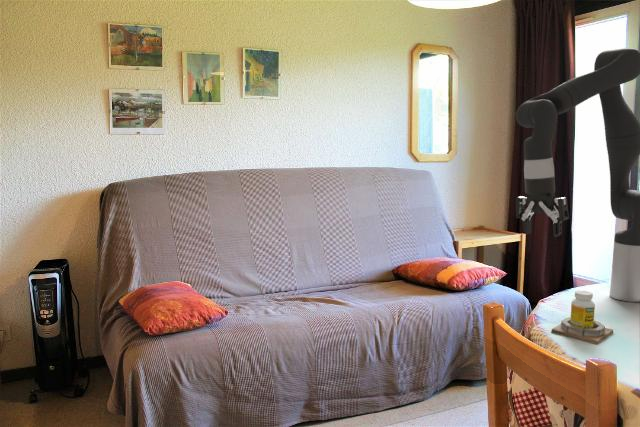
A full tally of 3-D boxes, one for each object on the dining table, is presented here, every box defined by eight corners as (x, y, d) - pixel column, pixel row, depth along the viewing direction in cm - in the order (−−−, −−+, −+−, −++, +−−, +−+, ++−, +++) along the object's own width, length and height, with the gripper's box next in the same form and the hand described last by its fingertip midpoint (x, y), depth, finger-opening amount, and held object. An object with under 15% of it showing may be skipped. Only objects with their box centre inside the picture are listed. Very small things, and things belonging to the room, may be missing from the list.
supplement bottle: (577, 324, 142) (579, 288, 140) (597, 330, 137) (600, 293, 136) (565, 328, 139) (567, 291, 137) (585, 334, 134) (588, 296, 133)
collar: (568, 321, 146) (569, 313, 146) (613, 332, 138) (613, 324, 138) (551, 332, 138) (552, 323, 138) (597, 344, 130) (598, 334, 130)
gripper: (572, 173, 143) (574, 234, 145) (523, 174, 154) (527, 230, 156) (556, 177, 138) (559, 239, 141) (507, 177, 150) (511, 235, 152)
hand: (542, 234), depth 148 cm, fingers open, 8 cm apart
